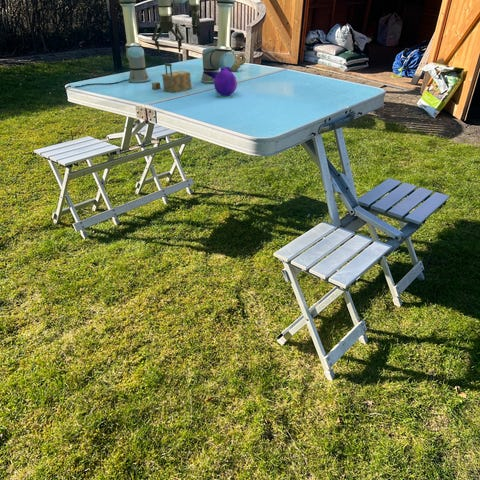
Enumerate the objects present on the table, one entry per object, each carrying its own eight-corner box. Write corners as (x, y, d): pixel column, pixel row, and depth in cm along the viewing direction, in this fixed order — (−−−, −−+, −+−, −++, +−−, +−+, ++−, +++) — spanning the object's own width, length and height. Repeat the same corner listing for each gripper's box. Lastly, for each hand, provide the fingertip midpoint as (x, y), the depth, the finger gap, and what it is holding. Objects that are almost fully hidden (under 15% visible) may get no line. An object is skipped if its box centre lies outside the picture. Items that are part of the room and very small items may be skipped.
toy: (224, 88, 311) (237, 101, 290) (200, 83, 303) (211, 96, 283) (230, 64, 302) (243, 76, 282) (205, 59, 295) (217, 71, 274)
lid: (170, 77, 298) (169, 64, 293) (161, 76, 304) (160, 63, 300) (190, 74, 308) (189, 61, 304) (180, 72, 314) (179, 59, 310)
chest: (173, 92, 303) (171, 77, 298) (163, 90, 309) (162, 75, 304) (191, 88, 313) (190, 74, 308) (182, 86, 319) (180, 72, 314)
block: (155, 89, 312) (155, 83, 310) (152, 88, 315) (151, 82, 313) (160, 88, 315) (160, 82, 313) (157, 87, 317) (156, 81, 315)
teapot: (225, 73, 359) (225, 53, 352) (218, 71, 368) (218, 51, 360) (248, 70, 368) (248, 50, 361) (241, 68, 377) (241, 49, 369)
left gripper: (203, 5, 329) (204, 36, 339) (195, 3, 349) (197, 33, 360) (193, 5, 327) (195, 37, 338) (186, 4, 347) (188, 34, 358)
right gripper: (144, 16, 272) (148, 53, 283) (184, 15, 271) (187, 52, 281) (147, 15, 279) (151, 51, 290) (186, 14, 277) (189, 51, 288)
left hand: (196, 35), depth 349 cm, fingers open, 13 cm apart
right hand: (169, 52), depth 285 cm, fingers open, 13 cm apart
